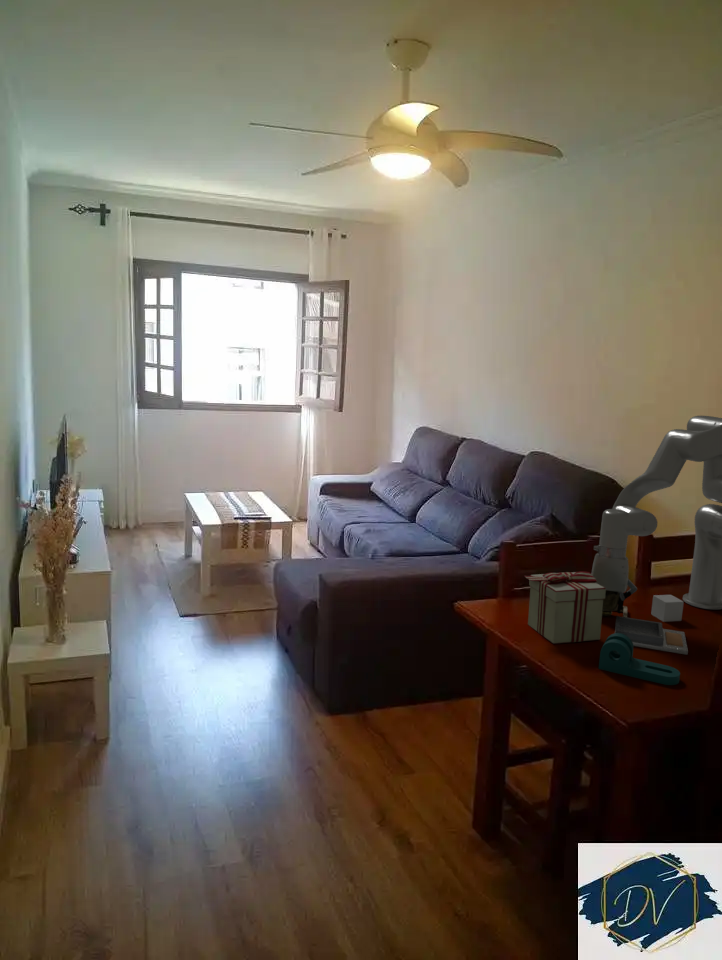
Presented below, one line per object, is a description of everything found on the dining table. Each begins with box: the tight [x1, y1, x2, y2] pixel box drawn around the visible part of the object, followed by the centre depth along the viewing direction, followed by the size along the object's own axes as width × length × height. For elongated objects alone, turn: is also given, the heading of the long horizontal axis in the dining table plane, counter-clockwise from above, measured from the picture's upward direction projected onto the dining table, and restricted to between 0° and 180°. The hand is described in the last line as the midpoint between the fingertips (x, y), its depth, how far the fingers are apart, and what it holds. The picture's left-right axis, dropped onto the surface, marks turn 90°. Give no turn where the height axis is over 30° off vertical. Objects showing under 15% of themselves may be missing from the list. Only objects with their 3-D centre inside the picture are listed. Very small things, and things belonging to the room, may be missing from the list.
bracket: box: [598, 632, 681, 686], centre depth 175 cm, size 18×7×8 cm, turn 61°
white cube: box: [650, 594, 684, 623], centre depth 213 cm, size 6×6×6 cm
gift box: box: [524, 570, 606, 645], centre depth 198 cm, size 17×18×17 cm
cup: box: [602, 591, 620, 617], centre depth 212 cm, size 8×7×8 cm
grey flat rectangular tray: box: [614, 615, 689, 655], centre depth 196 cm, size 14×18×3 cm
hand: (606, 609), depth 213 cm, fingers closed on cup, 6 cm apart
